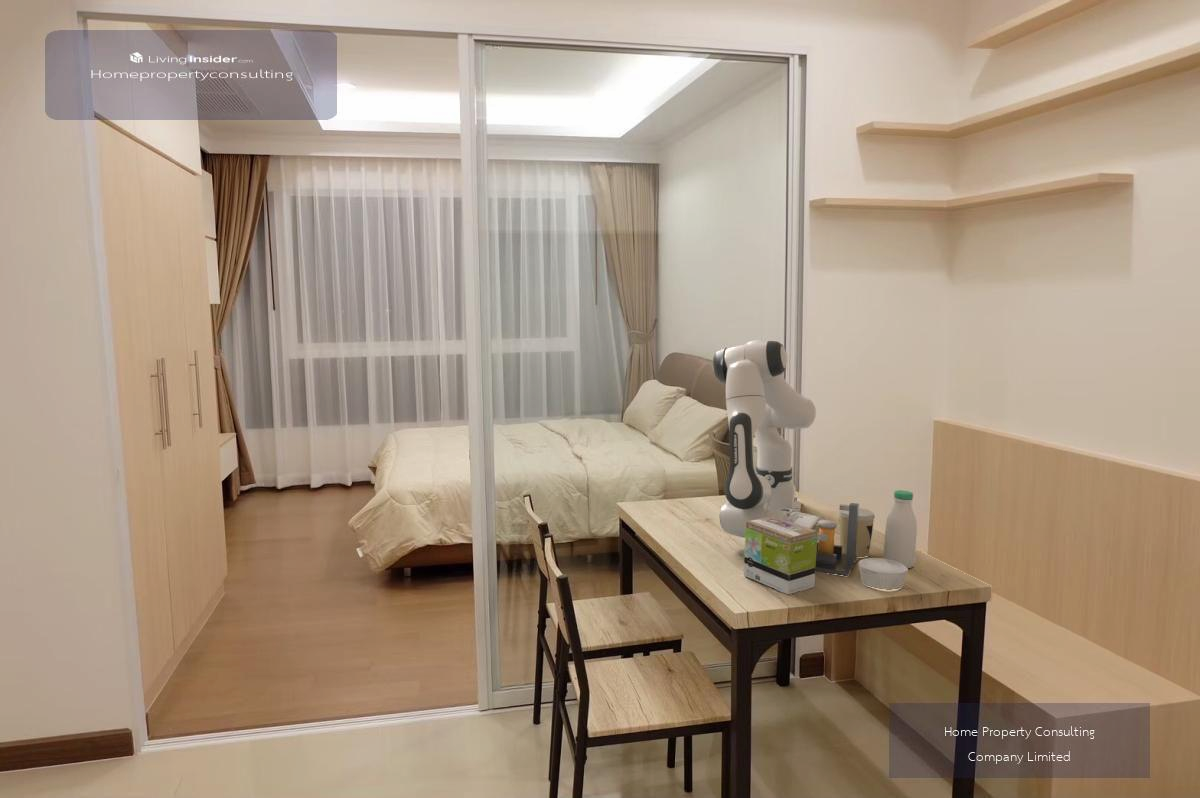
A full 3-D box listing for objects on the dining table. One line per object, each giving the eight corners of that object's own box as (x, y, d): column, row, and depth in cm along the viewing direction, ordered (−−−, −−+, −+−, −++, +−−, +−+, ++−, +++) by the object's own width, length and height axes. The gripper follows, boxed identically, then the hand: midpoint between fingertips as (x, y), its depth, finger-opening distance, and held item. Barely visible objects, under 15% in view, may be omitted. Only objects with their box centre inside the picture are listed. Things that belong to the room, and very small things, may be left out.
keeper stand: (815, 553, 214) (819, 492, 212) (858, 560, 209) (862, 498, 207) (803, 569, 201) (807, 505, 199) (849, 577, 196) (853, 511, 194)
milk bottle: (916, 571, 201) (922, 496, 199) (885, 568, 203) (890, 494, 200) (911, 561, 209) (916, 489, 206) (881, 559, 210) (886, 487, 208)
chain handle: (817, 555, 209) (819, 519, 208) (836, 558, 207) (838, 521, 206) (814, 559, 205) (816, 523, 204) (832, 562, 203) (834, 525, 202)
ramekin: (915, 588, 189) (917, 568, 189) (886, 597, 183) (888, 576, 183) (877, 574, 199) (878, 554, 198) (848, 582, 193) (849, 562, 192)
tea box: (742, 577, 195) (744, 520, 193) (769, 569, 200) (772, 514, 199) (788, 596, 183) (791, 535, 181) (815, 588, 188) (819, 529, 186)
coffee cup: (874, 560, 209) (877, 517, 208) (838, 557, 211) (841, 514, 210) (869, 549, 219) (871, 508, 217) (834, 547, 220) (837, 506, 219)
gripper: (768, 525, 201) (822, 533, 195) (787, 507, 219) (837, 514, 213) (767, 548, 202) (821, 557, 196) (786, 528, 220) (836, 536, 214)
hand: (830, 534), depth 204 cm, fingers open, 5 cm apart
